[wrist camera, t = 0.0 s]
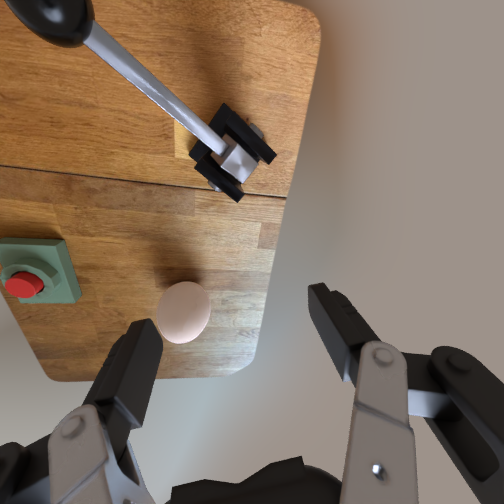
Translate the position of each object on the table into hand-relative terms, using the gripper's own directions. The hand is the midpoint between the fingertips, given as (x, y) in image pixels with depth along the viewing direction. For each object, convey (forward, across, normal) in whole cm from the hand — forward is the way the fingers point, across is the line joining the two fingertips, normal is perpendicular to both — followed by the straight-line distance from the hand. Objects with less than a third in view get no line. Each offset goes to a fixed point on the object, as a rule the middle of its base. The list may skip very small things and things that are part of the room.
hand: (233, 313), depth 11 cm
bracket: (+26, -2, -6) cm, 26 cm away
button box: (+26, +31, +6) cm, 41 cm away
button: (+22, +31, +6) cm, 39 cm away
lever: (+10, +2, -11) cm, 15 cm away
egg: (+26, +11, +16) cm, 32 cm away
